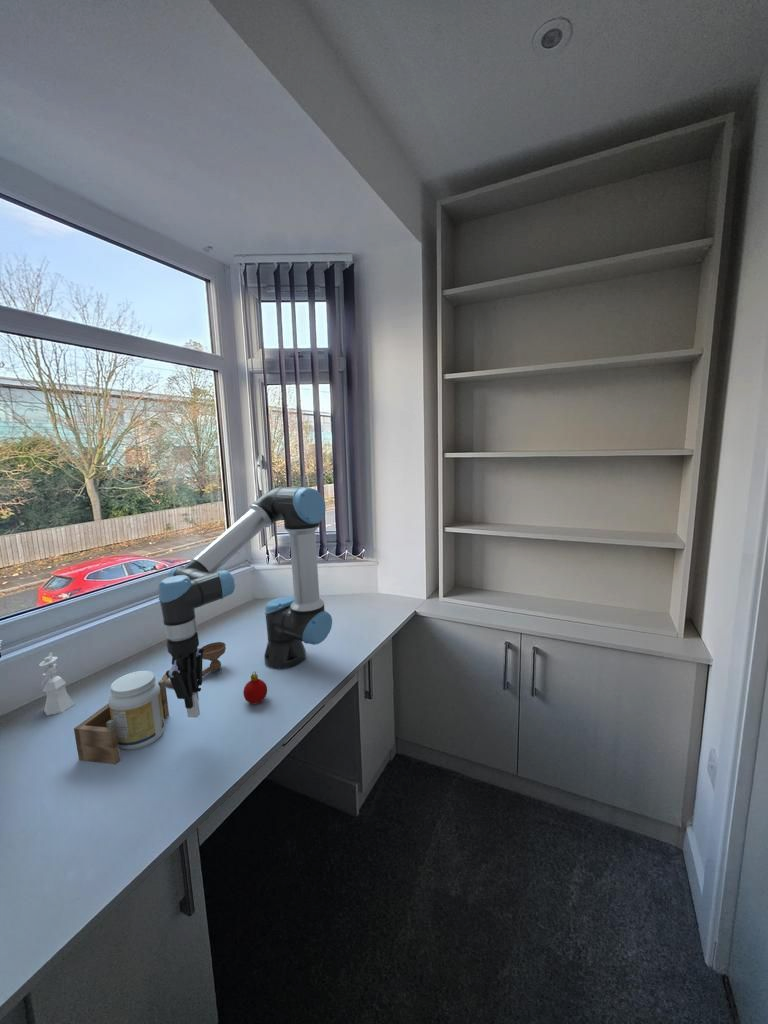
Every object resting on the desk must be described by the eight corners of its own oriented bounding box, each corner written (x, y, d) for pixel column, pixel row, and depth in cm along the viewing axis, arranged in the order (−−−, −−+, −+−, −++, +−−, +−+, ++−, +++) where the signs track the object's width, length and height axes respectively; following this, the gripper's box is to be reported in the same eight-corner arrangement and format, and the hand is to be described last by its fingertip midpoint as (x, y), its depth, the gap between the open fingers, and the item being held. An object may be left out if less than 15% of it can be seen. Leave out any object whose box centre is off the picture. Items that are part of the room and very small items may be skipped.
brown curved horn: (152, 687, 145) (194, 693, 138) (147, 663, 144) (189, 668, 136) (205, 655, 167) (244, 659, 159) (201, 633, 166) (240, 636, 158)
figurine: (47, 705, 134) (38, 652, 132) (77, 698, 137) (69, 646, 135) (39, 717, 128) (29, 662, 125) (71, 710, 131) (62, 656, 128)
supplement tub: (134, 722, 124) (127, 668, 122) (174, 723, 123) (167, 668, 120) (104, 751, 112) (95, 692, 110) (147, 753, 111) (139, 693, 108)
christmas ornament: (258, 710, 127) (256, 679, 126) (239, 706, 130) (236, 675, 128) (272, 697, 134) (270, 667, 133) (254, 693, 136) (251, 664, 135)
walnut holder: (169, 715, 127) (164, 680, 125) (115, 764, 107) (109, 723, 105) (137, 712, 129) (132, 677, 127) (78, 760, 109) (72, 719, 107)
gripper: (184, 623, 118) (196, 700, 122) (151, 646, 106) (165, 731, 110) (209, 624, 117) (219, 701, 121) (178, 647, 104) (191, 733, 108)
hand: (194, 715), depth 115 cm, fingers closed
